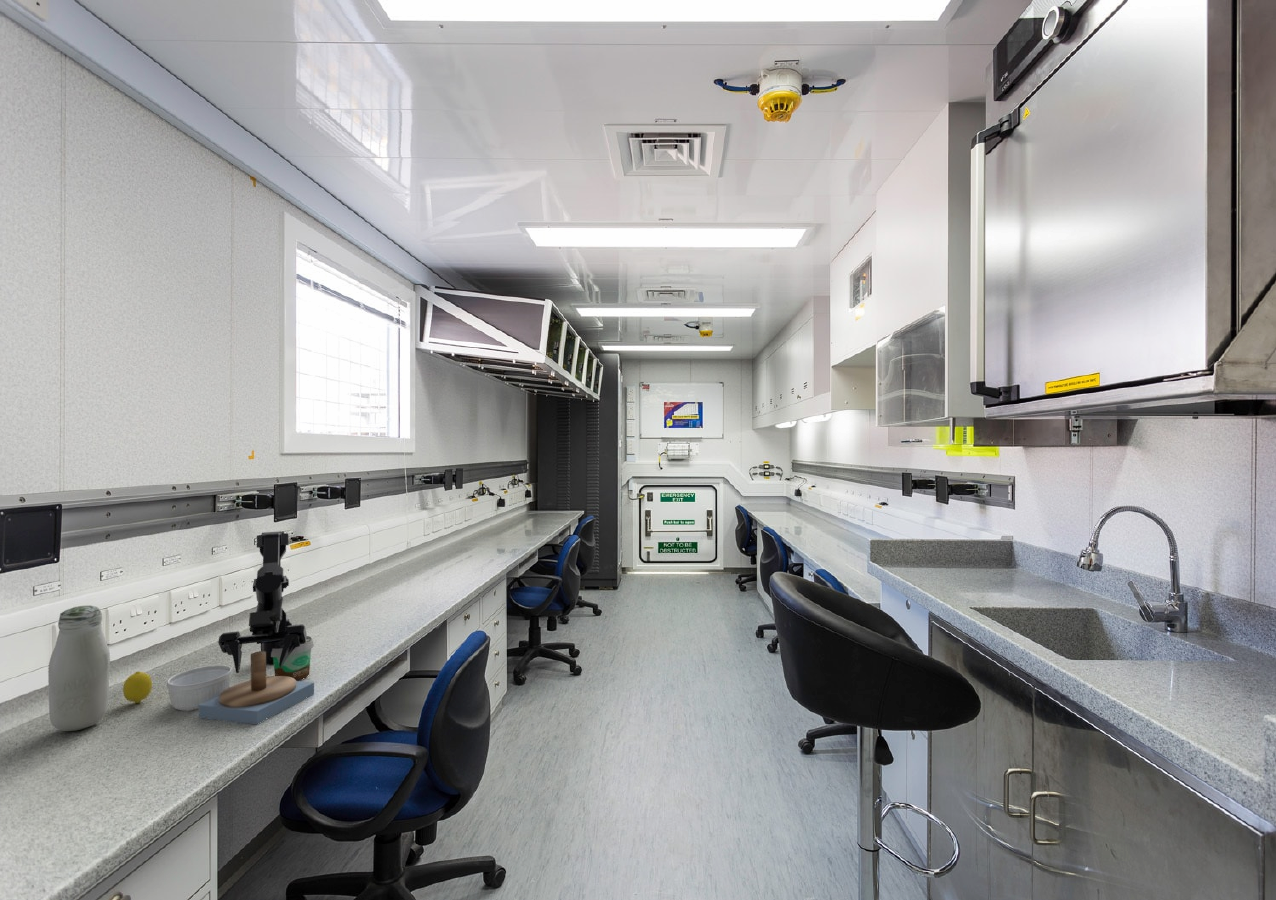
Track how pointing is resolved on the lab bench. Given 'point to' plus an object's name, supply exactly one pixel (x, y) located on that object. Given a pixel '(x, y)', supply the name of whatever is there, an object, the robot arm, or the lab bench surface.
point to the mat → (257, 712)
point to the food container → (294, 661)
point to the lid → (257, 686)
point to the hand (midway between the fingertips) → (258, 669)
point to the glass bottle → (79, 670)
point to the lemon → (137, 687)
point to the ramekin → (198, 686)
